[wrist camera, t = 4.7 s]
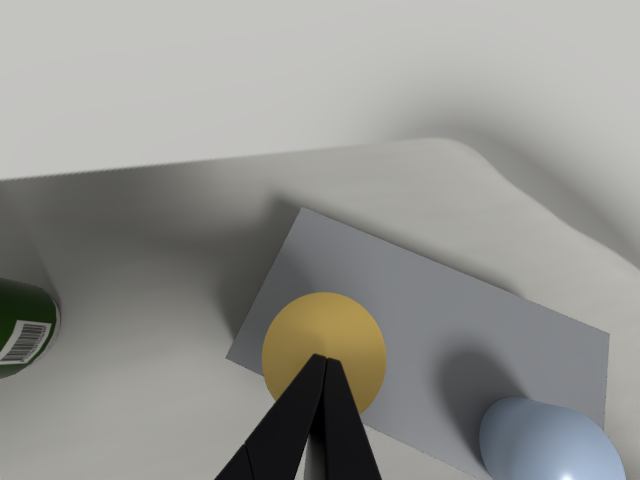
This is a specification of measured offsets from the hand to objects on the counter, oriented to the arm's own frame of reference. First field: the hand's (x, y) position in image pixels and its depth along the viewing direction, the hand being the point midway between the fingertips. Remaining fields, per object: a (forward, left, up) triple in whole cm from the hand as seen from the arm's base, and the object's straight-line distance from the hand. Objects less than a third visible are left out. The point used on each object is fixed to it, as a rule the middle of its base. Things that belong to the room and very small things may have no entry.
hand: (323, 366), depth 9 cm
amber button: (0, 0, -6) cm, 6 cm away
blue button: (-8, -6, -9) cm, 13 cm away
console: (-2, -5, -10) cm, 12 cm away
